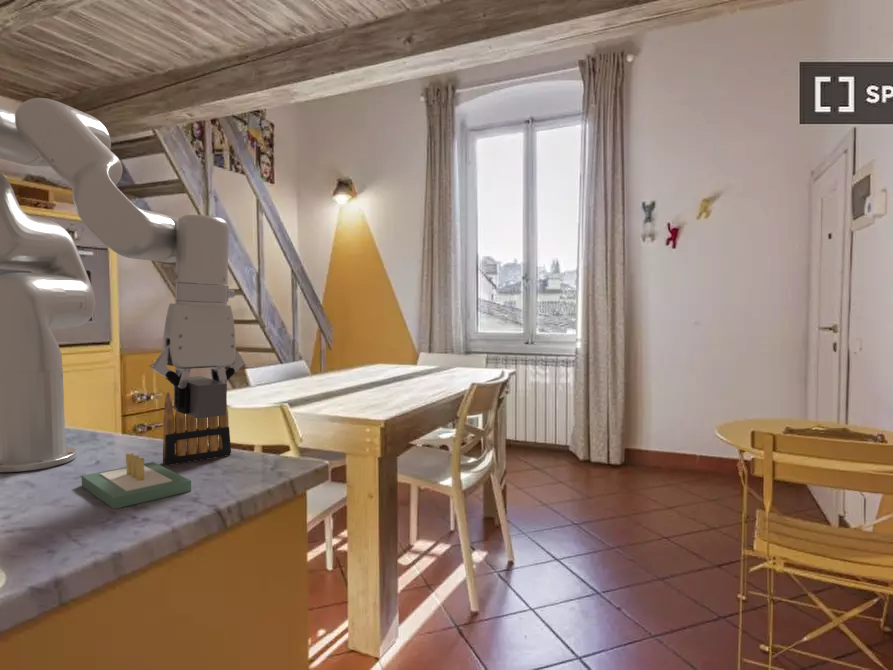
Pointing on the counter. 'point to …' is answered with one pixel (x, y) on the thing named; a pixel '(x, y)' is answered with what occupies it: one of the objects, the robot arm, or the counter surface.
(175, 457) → the ammunition clip
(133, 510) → the counter surface
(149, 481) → the header board
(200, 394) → the block
